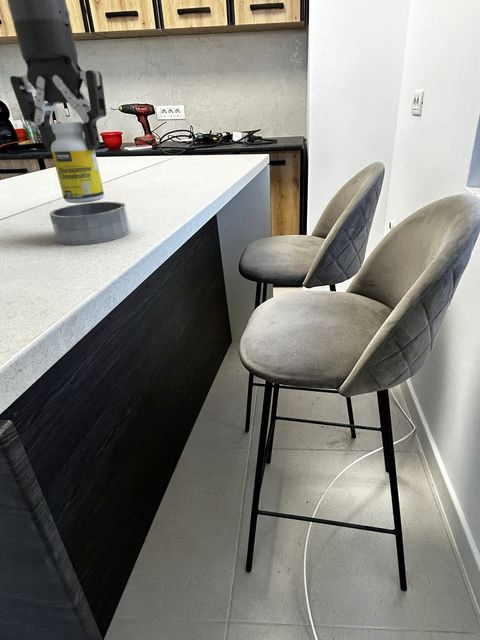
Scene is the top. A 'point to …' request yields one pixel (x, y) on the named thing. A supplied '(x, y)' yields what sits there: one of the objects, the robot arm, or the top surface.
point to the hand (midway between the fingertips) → (73, 150)
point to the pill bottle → (75, 164)
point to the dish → (90, 223)
